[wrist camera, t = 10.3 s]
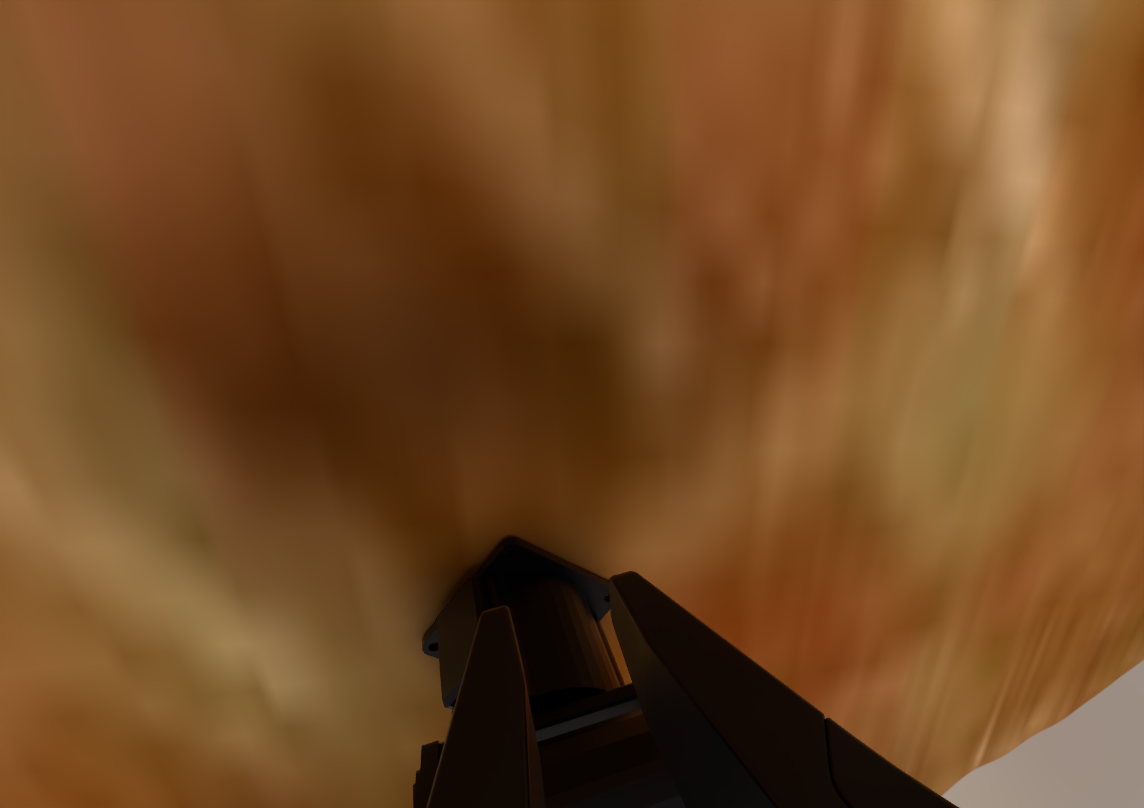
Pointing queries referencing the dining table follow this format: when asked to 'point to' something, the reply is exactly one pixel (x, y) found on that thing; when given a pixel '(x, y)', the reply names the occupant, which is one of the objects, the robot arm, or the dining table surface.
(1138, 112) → the dining table surface
